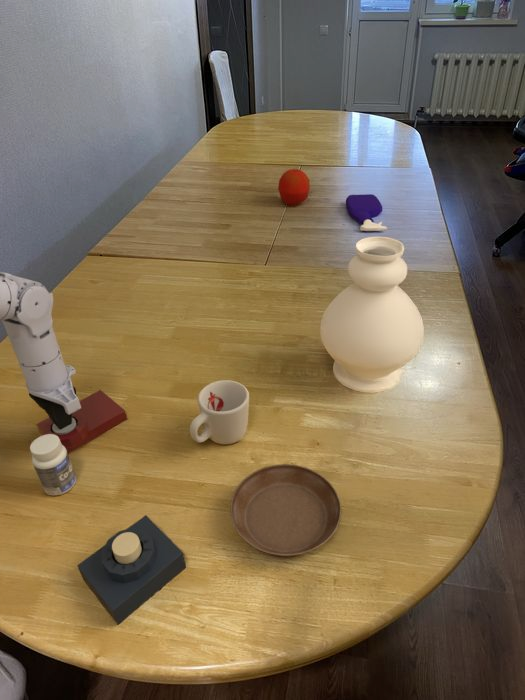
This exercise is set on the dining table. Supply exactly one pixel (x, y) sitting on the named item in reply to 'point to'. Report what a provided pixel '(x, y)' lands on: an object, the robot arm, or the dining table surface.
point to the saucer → (285, 509)
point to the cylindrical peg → (126, 548)
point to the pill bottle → (52, 465)
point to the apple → (294, 187)
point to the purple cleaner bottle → (365, 211)
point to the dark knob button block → (132, 570)
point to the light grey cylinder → (64, 430)
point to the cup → (222, 412)
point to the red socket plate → (88, 421)
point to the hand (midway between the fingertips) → (64, 424)
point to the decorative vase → (373, 320)
